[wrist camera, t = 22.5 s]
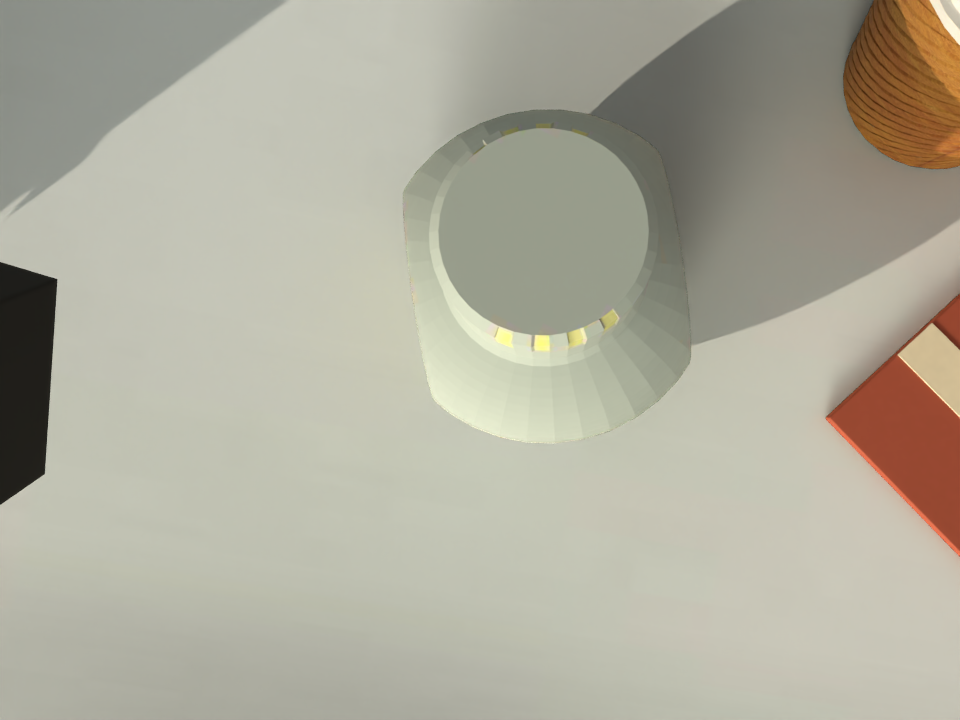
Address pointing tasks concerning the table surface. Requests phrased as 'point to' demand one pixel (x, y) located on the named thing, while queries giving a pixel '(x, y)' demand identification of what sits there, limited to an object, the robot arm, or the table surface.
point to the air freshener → (547, 276)
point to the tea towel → (914, 422)
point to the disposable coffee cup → (908, 81)
